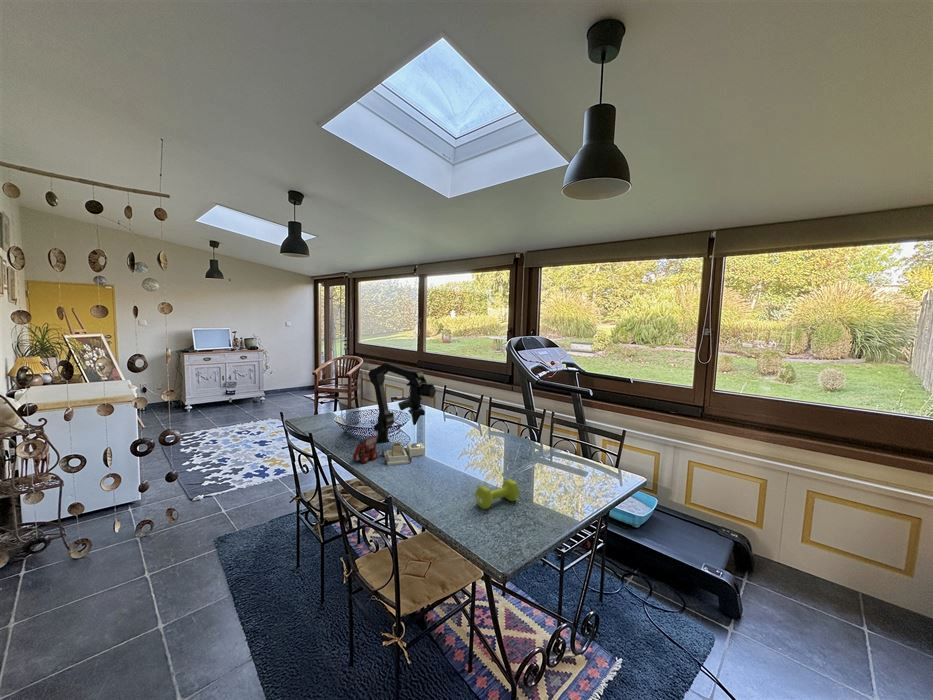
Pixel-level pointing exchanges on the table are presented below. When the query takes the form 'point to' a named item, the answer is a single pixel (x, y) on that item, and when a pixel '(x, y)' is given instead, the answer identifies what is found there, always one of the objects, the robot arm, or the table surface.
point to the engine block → (397, 449)
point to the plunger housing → (416, 450)
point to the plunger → (415, 445)
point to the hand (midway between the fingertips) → (414, 424)
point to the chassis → (396, 458)
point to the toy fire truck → (366, 450)
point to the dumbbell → (496, 493)
